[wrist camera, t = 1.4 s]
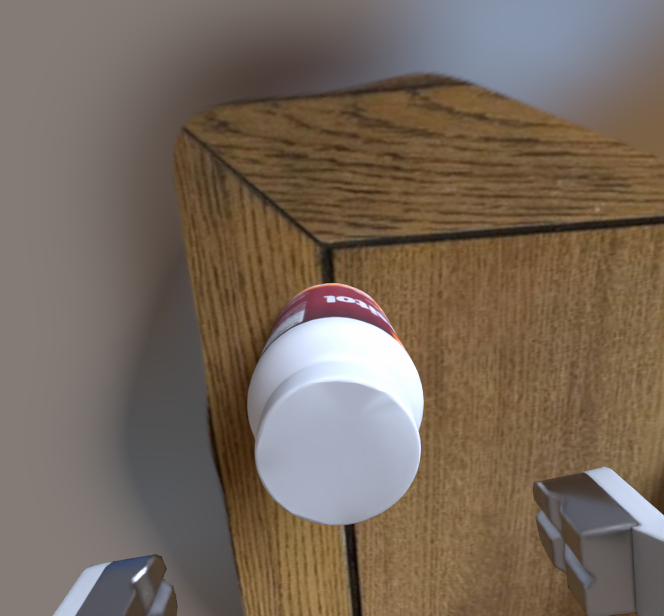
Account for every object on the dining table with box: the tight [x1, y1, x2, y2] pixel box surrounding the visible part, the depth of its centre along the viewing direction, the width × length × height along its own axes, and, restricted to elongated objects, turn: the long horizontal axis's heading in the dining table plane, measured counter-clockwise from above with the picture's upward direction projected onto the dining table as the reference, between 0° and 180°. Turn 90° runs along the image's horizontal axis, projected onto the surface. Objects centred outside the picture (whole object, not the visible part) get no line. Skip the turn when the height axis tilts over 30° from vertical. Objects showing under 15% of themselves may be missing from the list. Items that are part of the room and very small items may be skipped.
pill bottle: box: [247, 283, 423, 525], centre depth 17 cm, size 6×6×11 cm
